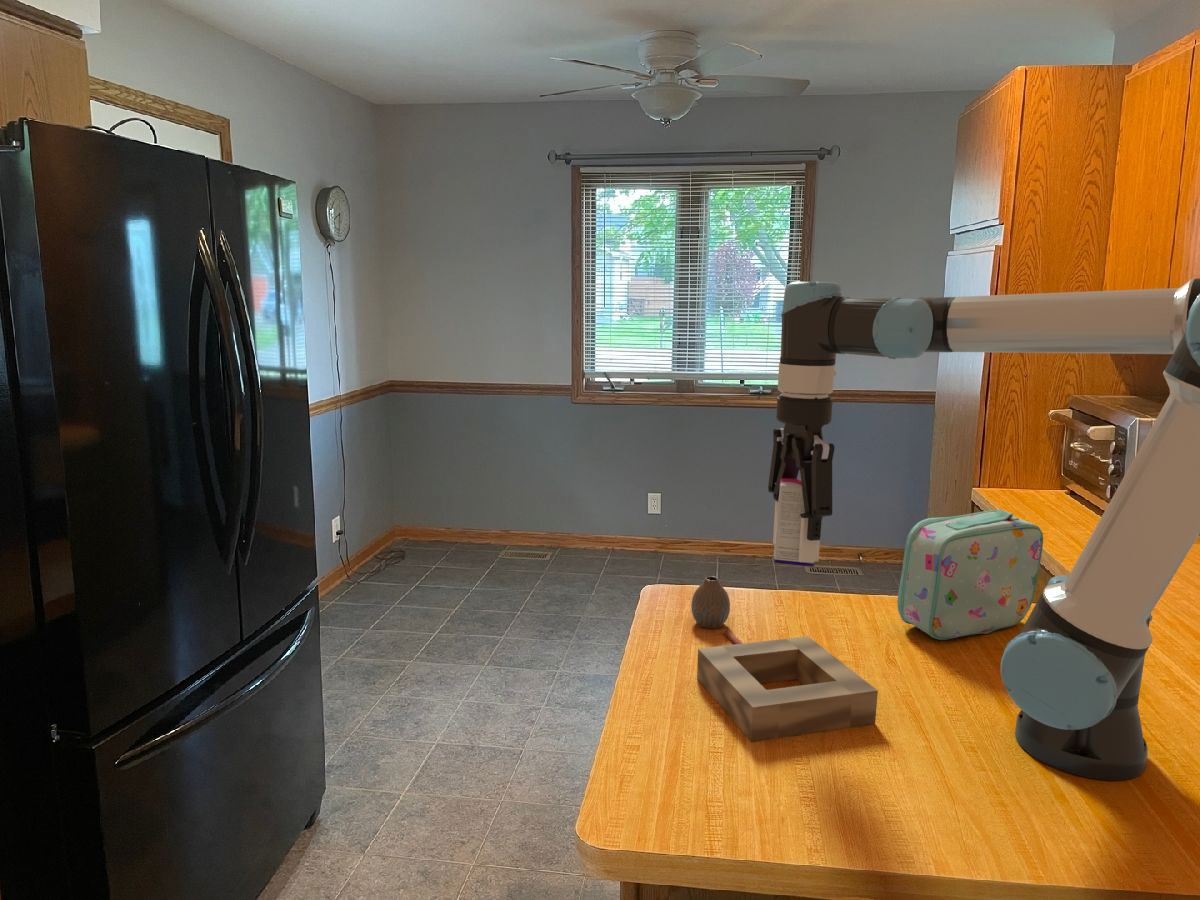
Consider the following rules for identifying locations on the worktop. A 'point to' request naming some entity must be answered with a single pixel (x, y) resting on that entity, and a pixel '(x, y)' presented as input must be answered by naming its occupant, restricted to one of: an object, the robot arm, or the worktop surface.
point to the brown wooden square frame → (783, 712)
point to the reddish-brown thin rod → (732, 637)
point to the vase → (710, 604)
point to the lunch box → (969, 573)
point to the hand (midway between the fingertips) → (795, 551)
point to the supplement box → (789, 523)
